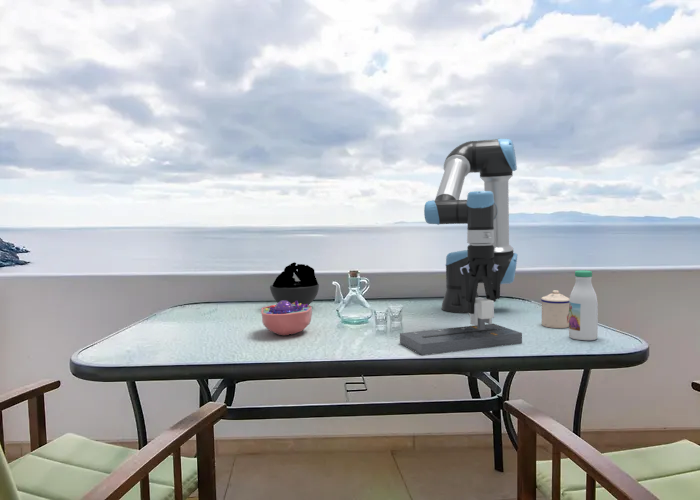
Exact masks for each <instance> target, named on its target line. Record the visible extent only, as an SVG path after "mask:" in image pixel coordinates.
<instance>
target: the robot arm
mask: <svg viewBox="0 0 700 500" xmlns="http://www.w3.org/2000/svg"><path fill="white" fill-rule="evenodd" d="M515 151H516V150H515V145H514V142H513V140H511V139H509V138H495V139H494V138H493V139H482V140H481V139H480V140H470V141H466V142H464V143H462V144H459V145H457V146H456V147H455V148H454V149H452V151H450V152H449V153H448V155H447V156H446V158H445V160H444V163H443V174H442V178H441V181H440V184H439V186H438V189H437V193H436V195H435V198H434V199H432V200H428V201H426V202H425V204H424V208H423V211H424V212H423V213H424V214H423V215H424V220H425V222H426V223H427V224H428V225H438V226H439V225H455V224H456V225H458V224H459V225H461V224H462V225H466V224H467V232H466V234H467V238H466V241H467V242H466V243H467V244H469V245H468V246H467V248H466V249H465V250H457V251H452V252H449V253H448V254H447V255H446V257H445V285H446V287H445V288H446V289H445V293H444V296H443V300H442V302H441V309H442V311H444V312H451V313H461V314H462V313H468V314H469V313H470V315H469V316H470V319H469V320H470V322H469V323H470V324H471V326H476V325H478V303H475V299H476V298H478V297H479V293H478V287H479V284H483V286H484V292H485V299H489V300H492V301H494V303H495V302H496V301H497V299H498V300H499V299H500V298H501V285H507V284H510V285H511V284H512V283H514V281H515V277H516V272H517V271H516V269H517V264H518V263H517V262H518V253H516V252H514V248H513V247H512V246H511V244H510V220H509V219H510V218H509V217H510V214H509V210H510V207H509V204H510V203H509V180H511V178H512V177H513V175H514V173H513V172H515V171H517V169H518V168H517V157H516V152H515ZM471 173H479V179H481V180H482V181H483V183H484V184H483V187H484V189H483V190H477V191H470V192H467V195H466V197H467V198H466V199H460V198H461V194H462V190H463V185H464V182H465V178H466V177H467V176H468V175H469V174H471ZM492 321H493V318H489V319H485V324H493V322H492Z"/></svg>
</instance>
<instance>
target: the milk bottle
mask: <svg viewBox="0 0 700 500" xmlns="http://www.w3.org/2000/svg"><path fill="white" fill-rule="evenodd" d="M574 279H575V283H574V286H573V288H572V291H571V292H570V294H569V298H570V299H569V327H568V336H569V338H571V339H573V340H578V341H594V340H595V341H596V340H597V339H598V335H599V334H598V331H599V330H598V327H599V324H598V323H599V322H598V319H599V310H598V309H599V305H598V295H597V293H596V290H595V289H594V286H593V282H592V279H593V271H592V270H586V269H585V270H581V269H580V270H575V271H574Z"/></svg>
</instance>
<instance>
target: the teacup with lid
mask: <svg viewBox="0 0 700 500" xmlns="http://www.w3.org/2000/svg"><path fill="white" fill-rule="evenodd" d="M569 299H570V297H568V296H565V295H564V294H561V293H560V290H557V289H556V290H555V289H554V290H552V293H549V294H547V295H544V296H542V297H541V298H540V300H541V326H543V327H546V328H550V329H566V328H569Z"/></svg>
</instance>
